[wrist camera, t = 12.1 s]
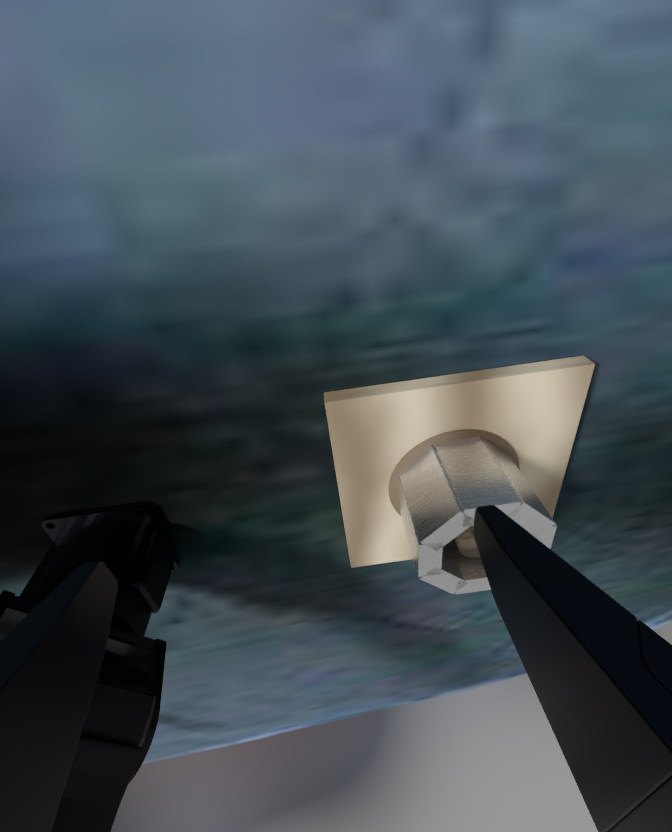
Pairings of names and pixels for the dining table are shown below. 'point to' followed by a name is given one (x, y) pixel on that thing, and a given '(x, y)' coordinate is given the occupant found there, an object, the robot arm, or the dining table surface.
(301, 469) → the dining table surface
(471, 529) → the bronze post
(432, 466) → the aluminium ring
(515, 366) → the birch base board
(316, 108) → the dining table surface
